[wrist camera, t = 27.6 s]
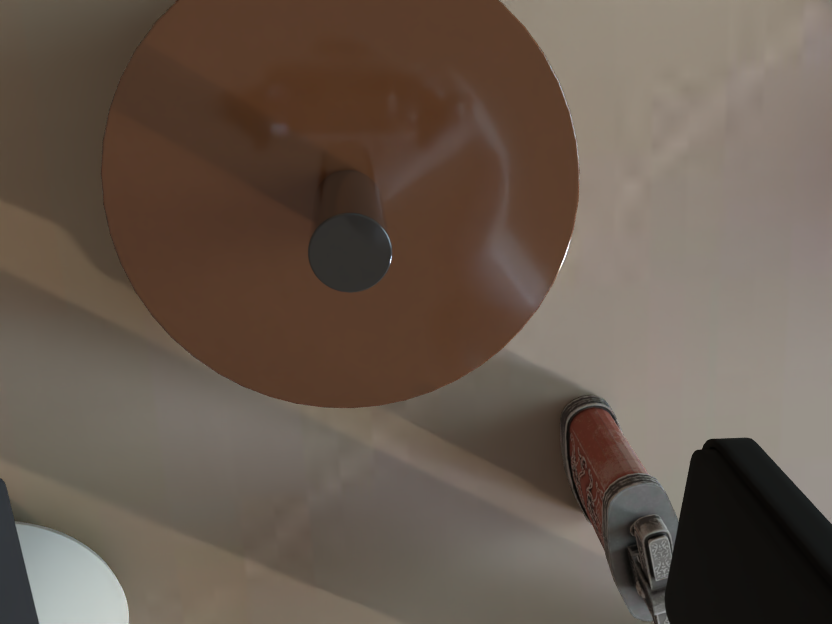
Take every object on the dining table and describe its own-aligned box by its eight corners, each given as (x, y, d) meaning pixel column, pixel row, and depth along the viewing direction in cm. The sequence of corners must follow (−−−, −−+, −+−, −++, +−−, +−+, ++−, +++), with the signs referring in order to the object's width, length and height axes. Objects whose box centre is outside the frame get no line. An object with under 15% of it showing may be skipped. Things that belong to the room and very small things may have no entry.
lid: (594, -53, 25) (678, -66, 19) (549, 387, 31) (601, 484, 25) (74, -66, 23) (-21, -86, 17) (142, 400, 30) (91, 506, 24)
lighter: (636, 507, 42) (720, 653, 32) (578, 524, 42) (645, 675, 33) (613, 387, 38) (699, 512, 29) (549, 406, 38) (615, 536, 29)
